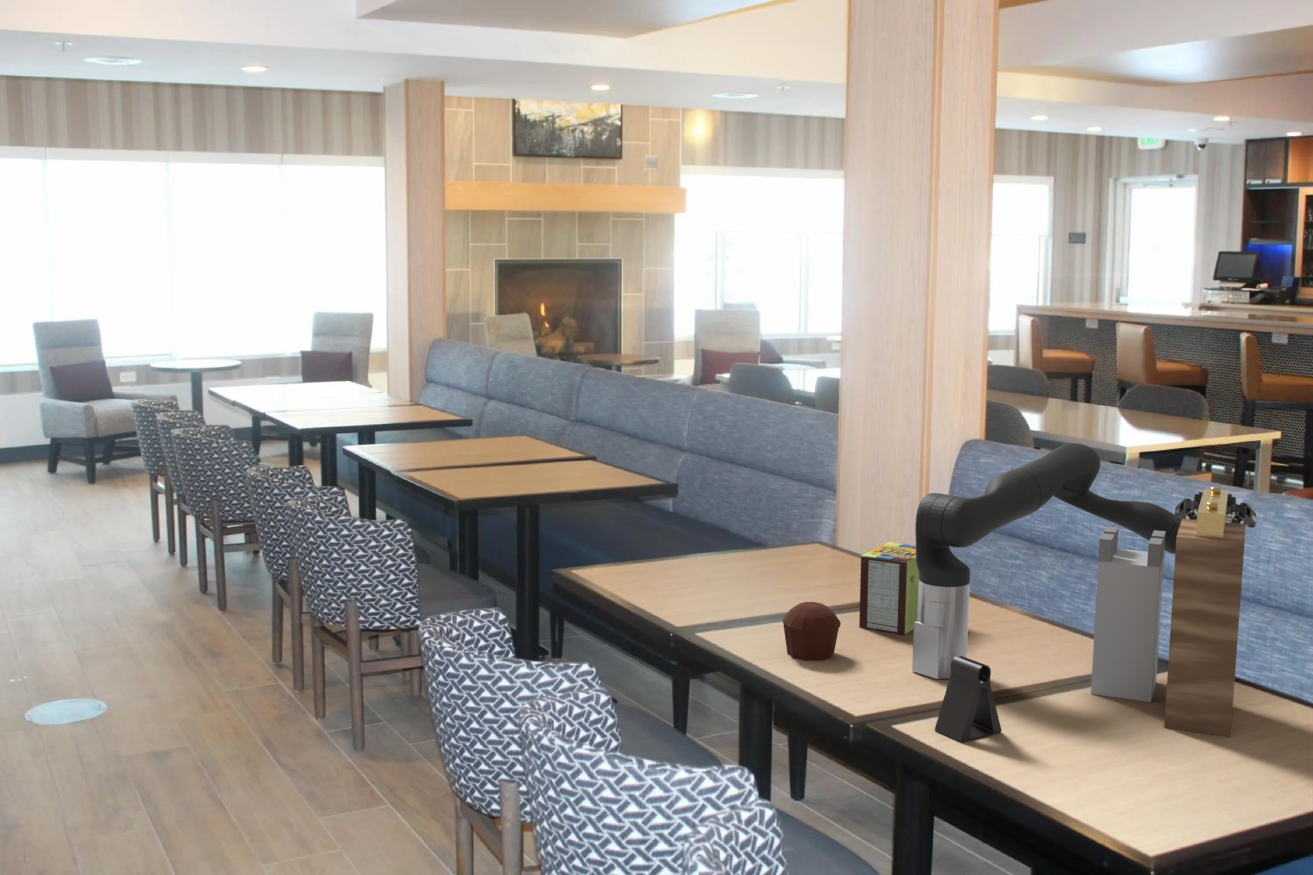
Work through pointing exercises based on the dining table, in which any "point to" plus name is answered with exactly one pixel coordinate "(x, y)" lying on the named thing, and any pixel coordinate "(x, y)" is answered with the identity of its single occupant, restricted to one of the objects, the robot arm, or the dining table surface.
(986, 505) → the robot arm
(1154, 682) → the post
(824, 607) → the muffin
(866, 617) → the protein box
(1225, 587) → the stand
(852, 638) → the dining table surface
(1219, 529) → the gold studded block
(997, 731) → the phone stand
